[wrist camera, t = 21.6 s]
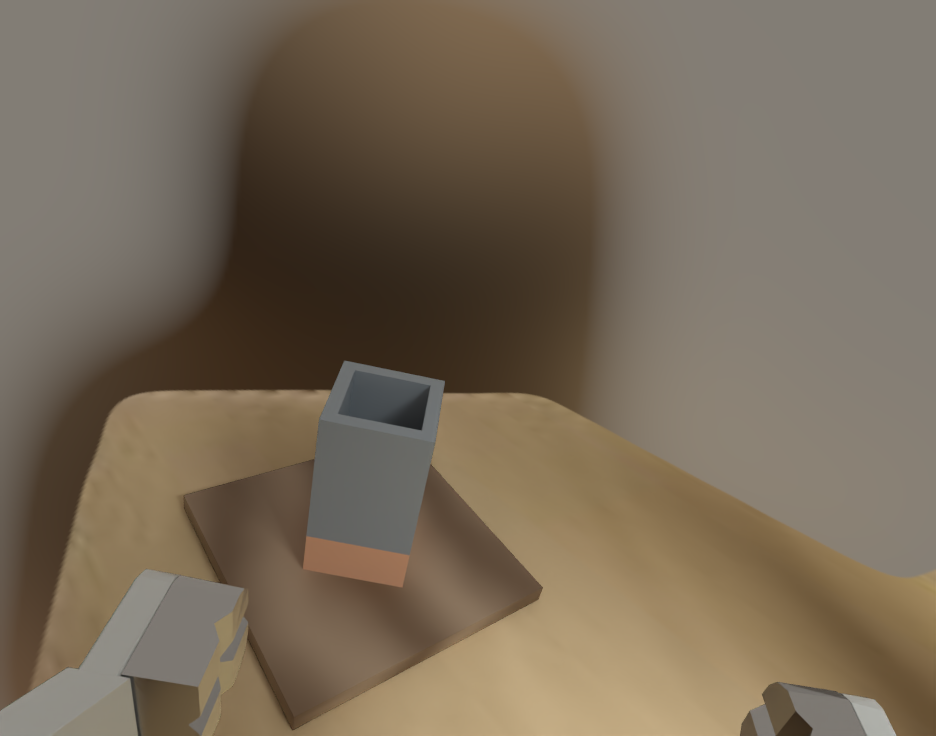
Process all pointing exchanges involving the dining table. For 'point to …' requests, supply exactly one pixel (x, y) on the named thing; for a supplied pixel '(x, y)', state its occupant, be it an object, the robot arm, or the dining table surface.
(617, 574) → the dining table surface
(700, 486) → the dining table surface
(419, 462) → the sleeve
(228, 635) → the robot arm
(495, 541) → the pin board
